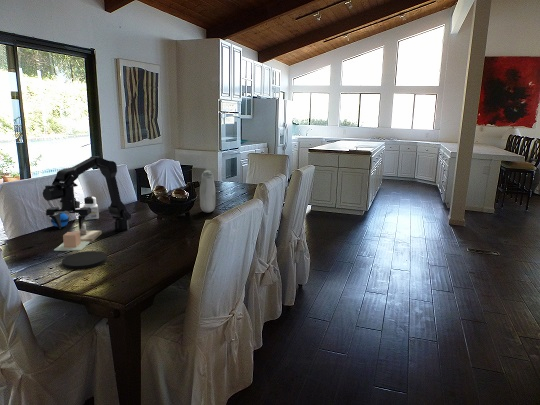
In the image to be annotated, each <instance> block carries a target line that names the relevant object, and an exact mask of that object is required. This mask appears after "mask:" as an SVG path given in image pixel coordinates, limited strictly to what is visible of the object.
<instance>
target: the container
mask: <svg viewBox="0 0 540 405" xmlns="http://www.w3.org/2000/svg"><path fill="white" fill-rule="evenodd" d="M83 199H84V200H83V201H84V204H83V207H90V208H91V213H90V214H89V215H87V216H86V217H85V218H84V220H85V221H86V220H96V219H100V214H99V205H98V204H97V198H96V197H95V196H85V197H84V198H83Z"/></svg>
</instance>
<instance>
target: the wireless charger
mask: <svg viewBox="0 0 540 405" xmlns="http://www.w3.org/2000/svg"><path fill="white" fill-rule="evenodd" d="M61 260H62V261H61V263H62V267H63V268H64V269H67V270H74V271H75V270H78V271H80V270H88V269H93V268H97V267H100V266H102V265H104V264H105V263H107V261H108V254H107V253H105V252H103V251H99V250H87V251H80V252H75V253H72V254H69V255H67V256H65V257H64V258H62V259H61Z"/></svg>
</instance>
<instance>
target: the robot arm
mask: <svg viewBox="0 0 540 405" xmlns="http://www.w3.org/2000/svg"><path fill="white" fill-rule="evenodd" d="M94 167H97V168H98V169H99V170H100V173H101V174H102V176H103V177H104V179H105V182H106V186H107V190H108V194H109V198H110V202H111V203H110V205H109V206H108V207H107V208H108V213H109V214H110V216H111V217H112V219H113V220H115V221H114V231H115V232H119V231H120V232H127V231H128V230H129V229H130V228H131V226H129V225H130V224H129V220H131V216H132V214H131V213H130V212H128V210H127V208H126V205H125V204H124V203H123V201H122V200H121V199H122V198H121V195H120V190H119V188H118V187H119V186H118V182H117V178H116V176H117V173H118V166H117V163H116V162H115V161H114V160H107V159H106V158H102V157H100V156H95V155H91V156H90V157H89V158H87V159H85V160H83V161H81V162H80V163H78V164H75V165H74V166H72V167H67V168H63V169H60V170H58V171H57V172H56V176H55V177H54V179H53V180H52V182H51V184H50V185H49V184H48V185H45V186H44V187H45V188H44V189H43V191H42V196H43V198H44V200H45V201H47V202H50V201H54V200H55V201H56V200H59V203H61V205H60V206H61V208H60V207H59V206H54V207H52V206H51V207H49V208H47V209H45V216H48V218H51V219H53V220H54V221H55V223H56V224H57V226H58V227H57V228H58V229H59V230H61V229H62V227H61V221H60V214H61V213H64V214H78V216H77V219H78V229H79V228H80V229H81V228H82V224H84V220H85V217H86V216H87V215H89V214H90V213H91V208H90V207H84V206H82V207H81V208H80V206H81V205H80V204H81V202H80V201H77V199H76V197H75V190H74V188H76V187H78V184H77V183H76V182H75V181H76V180H77V179H79V177H80V175H81V174H84V173H85V172H87V171H90V170H91V169H92V168H94Z"/></svg>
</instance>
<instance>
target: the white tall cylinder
mask: <svg viewBox="0 0 540 405" xmlns="http://www.w3.org/2000/svg"><path fill="white" fill-rule="evenodd" d="M215 185H216V184H215V179H214V173H213V172H212V171H211V170H210V169H209V170H206V169H205V170H204V171H202V173H201V181H200V185H199V207H200V209H201V211H203V212H204V213H211V212H213V211H214V210H215V208H216V186H215Z"/></svg>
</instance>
